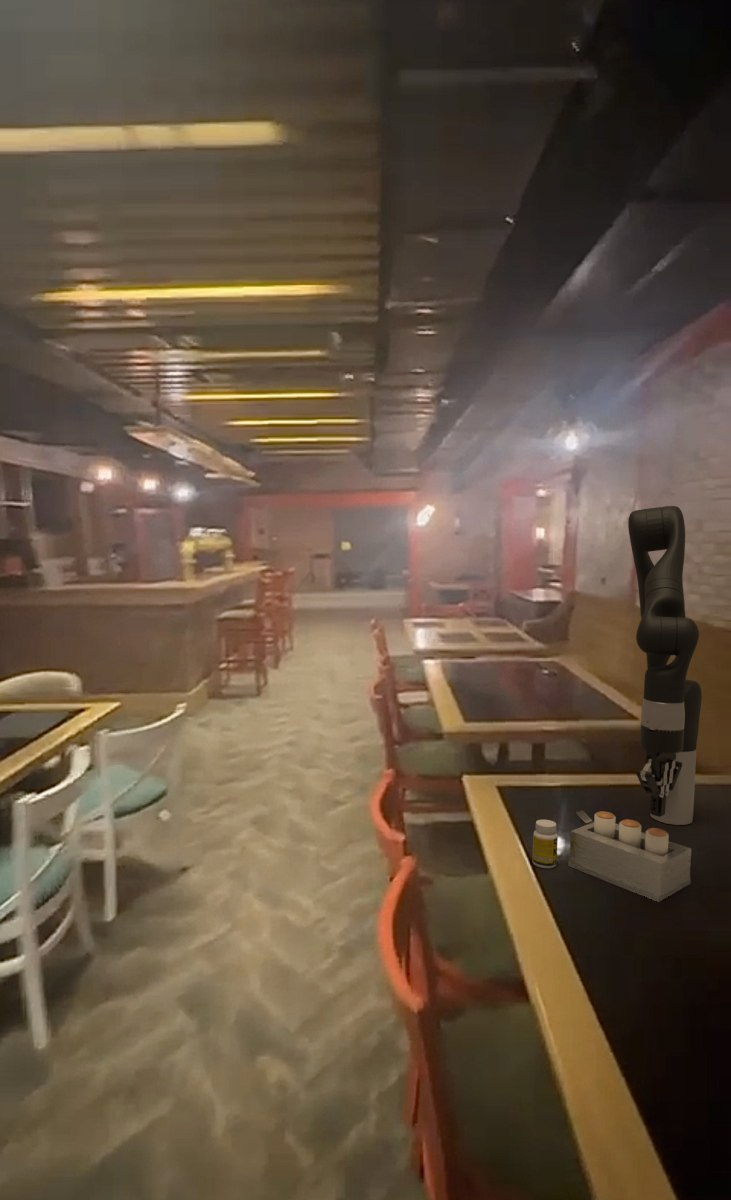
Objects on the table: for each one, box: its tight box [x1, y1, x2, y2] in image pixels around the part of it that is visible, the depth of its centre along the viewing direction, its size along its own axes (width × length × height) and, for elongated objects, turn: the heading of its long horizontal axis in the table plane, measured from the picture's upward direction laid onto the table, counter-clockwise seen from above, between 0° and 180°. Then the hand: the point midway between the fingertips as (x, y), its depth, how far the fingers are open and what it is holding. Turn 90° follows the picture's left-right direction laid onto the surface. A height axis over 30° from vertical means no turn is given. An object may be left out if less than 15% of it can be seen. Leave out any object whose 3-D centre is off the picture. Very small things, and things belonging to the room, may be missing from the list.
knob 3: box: [645, 827, 670, 857], centre depth 139 cm, size 4×4×6 cm
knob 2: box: [618, 819, 642, 849], centre depth 143 cm, size 4×4×6 cm
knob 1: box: [593, 810, 617, 840], centre depth 147 cm, size 4×4×6 cm
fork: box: [576, 810, 594, 824], centre depth 167 cm, size 3×16×2 cm, turn 38°
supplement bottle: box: [531, 819, 559, 869], centre depth 148 cm, size 5×5×8 cm
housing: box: [567, 821, 692, 903], centre depth 143 cm, size 12×19×7 cm, turn 40°
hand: (657, 814), depth 139 cm, fingers closed
